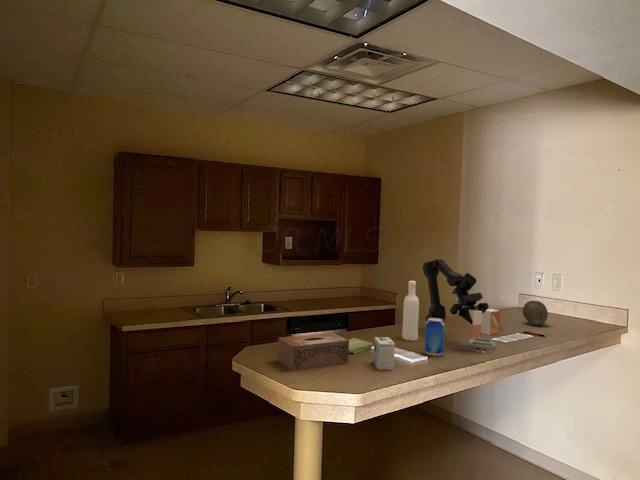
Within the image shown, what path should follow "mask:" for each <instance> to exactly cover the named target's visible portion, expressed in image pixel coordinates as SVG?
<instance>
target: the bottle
mask: <svg viewBox="0 0 640 480" xmlns="http://www.w3.org/2000/svg"><path fill="white" fill-rule="evenodd" d="M407 285H408V289H407V290H408V293H407V295H406V296H405V297H404V300H403V312H402V313H403V315H402V333H401V336H402V338H401V339H402V340H404V339H405V341H408V340H410V341H409V342H415V340H416V341H418V338H419V337H418V336H419V312H420V309H419V308H420V300H419V297H418V296H417V294H416V287H417V282H416V281H415V280H409V281H408V284H407Z"/></svg>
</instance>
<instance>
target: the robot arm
mask: <svg viewBox="0 0 640 480" xmlns="http://www.w3.org/2000/svg"><path fill="white" fill-rule="evenodd" d="M422 272H423V275H424V276H425V277H426V279H427V283H428V289H429V290H428V291H429V298H430V307H429V308H428V314H427V315H426V316H425V323H426V322H427V321H428V318H439V319H442V320H443V323H444V324H445V320H446V317H447V312H446V307H445V305H443V304H441V299H440V292H439V283H438V276H439V273H441V274H442V275H443V276H444V277H445V278H446V283H448V285H449V286H450V287H454V288H453V291H452V294H453V295H456V297H457V299H458V300H457V303H456V302H455V303H453V304H452V306H451V308H450V309H449V312H450V314H451V315H457V316H459V317H461V319H464V320H465V321H466V322H467V323H468V322H469V323H470V324H473V322H472V319H471V317H470V315H469V311H468V310H479V311H482V313H484V312H485V311H486V310H487V309H490V306H489V303H488V302H479V303H478V304H477V302H478V301H481V300H482V299H483V294H482V293H481V292H476V293H469V291H471V290H472V289H473V287H474V286H475V285H476V283H477V278H476V277H475V276H473V275H471V274H470V273H467V272H466V273H465V274H464V275H463V274H461V273H459V272H456V271H454V270H453V269H452V268H451V267H450V266H449V265H448V264H447V263H445V261H444V260H443V259H434V260H431V261H427V262H425V261H424V264H423V265H422ZM476 304H477V305H476Z"/></svg>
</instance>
